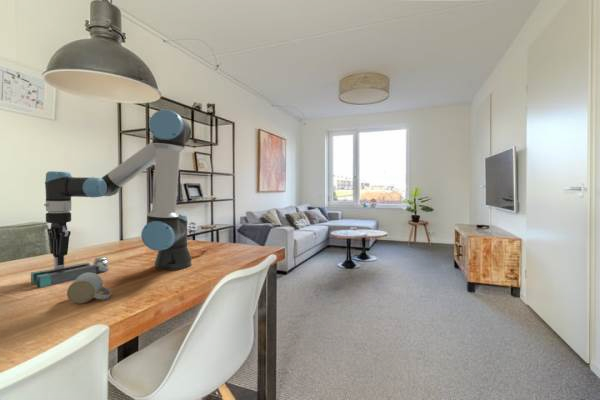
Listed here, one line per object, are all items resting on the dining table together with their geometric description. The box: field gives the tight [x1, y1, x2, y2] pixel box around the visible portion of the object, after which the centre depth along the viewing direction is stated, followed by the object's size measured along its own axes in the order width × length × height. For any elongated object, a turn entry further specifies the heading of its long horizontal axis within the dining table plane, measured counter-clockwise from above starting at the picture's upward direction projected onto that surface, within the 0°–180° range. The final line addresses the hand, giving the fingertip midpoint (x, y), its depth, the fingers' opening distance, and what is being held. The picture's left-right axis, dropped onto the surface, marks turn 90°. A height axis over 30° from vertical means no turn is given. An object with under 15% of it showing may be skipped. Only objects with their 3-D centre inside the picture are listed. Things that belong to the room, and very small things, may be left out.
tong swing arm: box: [30, 256, 107, 285], centre depth 112 cm, size 23×6×5 cm, turn 148°
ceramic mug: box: [66, 273, 112, 305], centre depth 90 cm, size 11×8×8 cm
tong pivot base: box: [36, 258, 109, 289], centre depth 112 cm, size 24×6×4 cm, turn 151°
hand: (59, 272), depth 112 cm, fingers closed
